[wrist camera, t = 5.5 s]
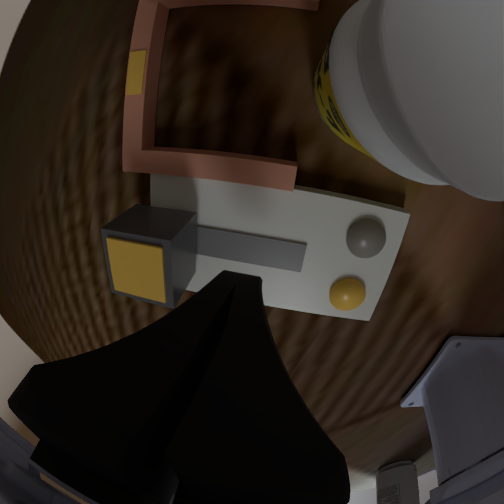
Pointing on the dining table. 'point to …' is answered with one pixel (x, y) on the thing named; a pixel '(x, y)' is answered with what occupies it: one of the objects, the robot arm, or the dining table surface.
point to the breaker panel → (290, 241)
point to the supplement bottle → (420, 89)
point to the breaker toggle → (151, 253)
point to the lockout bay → (145, 101)
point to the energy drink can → (398, 484)
